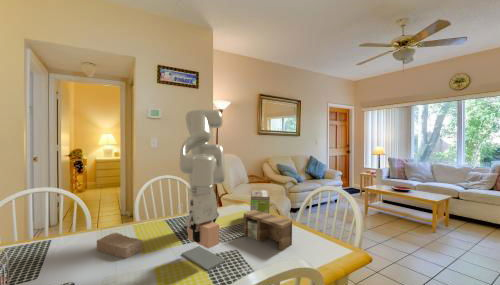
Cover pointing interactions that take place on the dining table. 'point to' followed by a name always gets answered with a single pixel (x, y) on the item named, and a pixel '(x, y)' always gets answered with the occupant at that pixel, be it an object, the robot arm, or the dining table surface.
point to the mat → (203, 258)
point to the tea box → (260, 201)
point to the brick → (119, 245)
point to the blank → (206, 234)
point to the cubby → (268, 228)
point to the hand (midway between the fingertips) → (202, 238)
